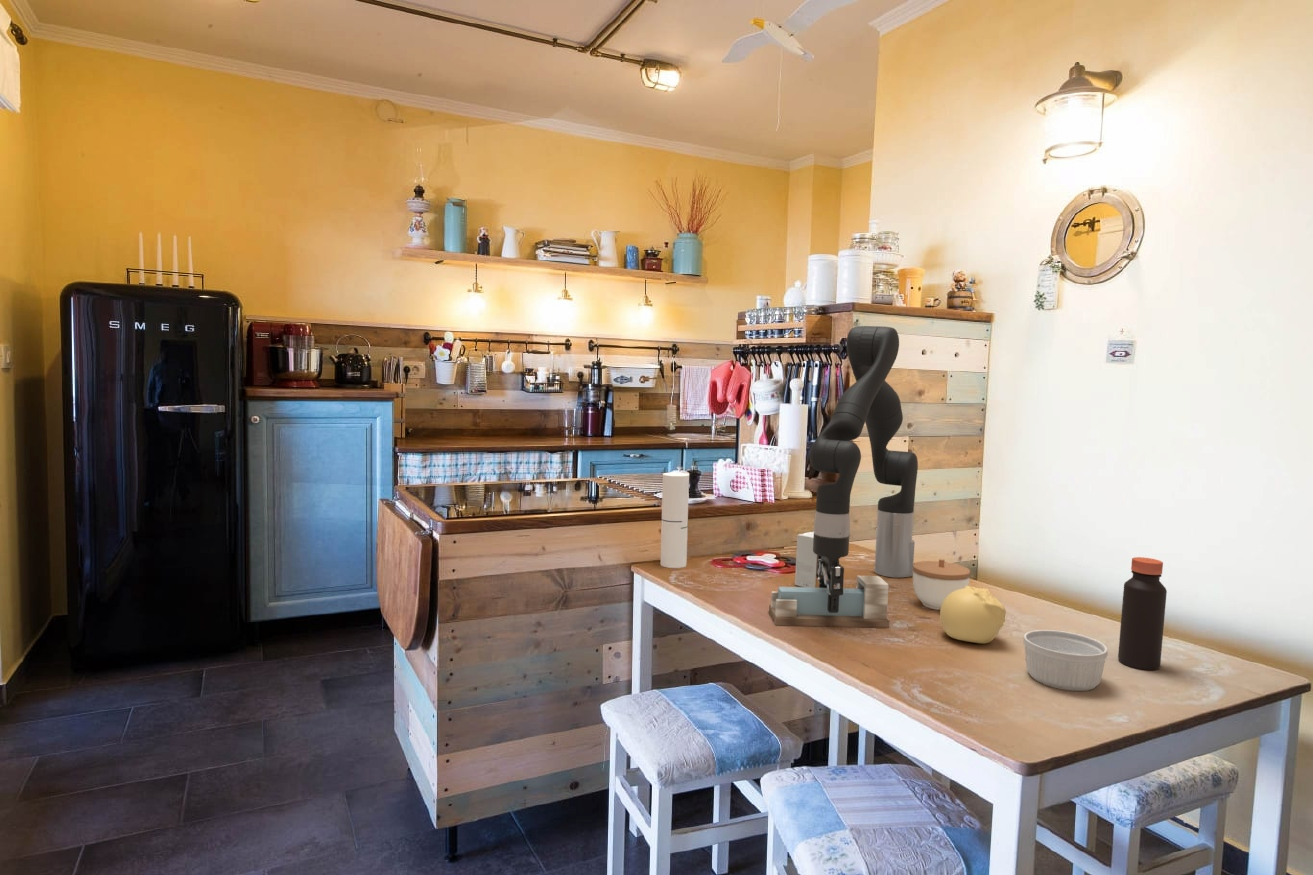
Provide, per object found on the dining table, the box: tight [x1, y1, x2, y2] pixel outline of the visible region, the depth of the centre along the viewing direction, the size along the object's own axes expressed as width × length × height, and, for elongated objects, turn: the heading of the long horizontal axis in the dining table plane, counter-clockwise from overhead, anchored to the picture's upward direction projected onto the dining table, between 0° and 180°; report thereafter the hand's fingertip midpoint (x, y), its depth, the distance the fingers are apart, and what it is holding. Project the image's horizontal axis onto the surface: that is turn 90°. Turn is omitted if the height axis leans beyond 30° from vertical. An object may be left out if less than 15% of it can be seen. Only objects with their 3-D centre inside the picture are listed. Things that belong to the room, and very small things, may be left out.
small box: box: [794, 530, 820, 588], centre depth 192 cm, size 8×6×13 cm
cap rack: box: [768, 575, 890, 629], centre depth 165 cm, size 24×9×9 cm, turn 91°
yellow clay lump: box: [939, 585, 1007, 644], centre depth 155 cm, size 11×12×11 cm
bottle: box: [1117, 556, 1168, 671], centre depth 143 cm, size 7×7×20 cm
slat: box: [777, 586, 864, 616], centre depth 165 cm, size 20×4×5 cm, turn 91°
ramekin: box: [1022, 629, 1108, 692], centre depth 136 cm, size 13×13×7 cm
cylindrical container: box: [660, 472, 690, 569], centre depth 208 cm, size 7×7×25 cm
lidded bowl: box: [912, 558, 971, 611], centre depth 177 cm, size 13×13×11 cm
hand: (828, 606), depth 165 cm, fingers open, 8 cm apart
